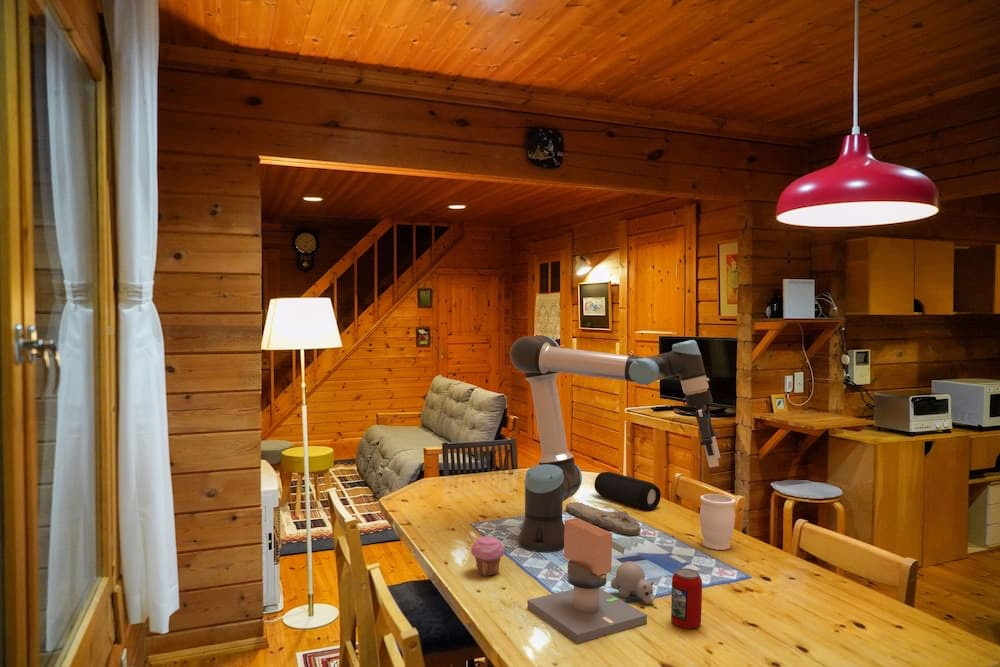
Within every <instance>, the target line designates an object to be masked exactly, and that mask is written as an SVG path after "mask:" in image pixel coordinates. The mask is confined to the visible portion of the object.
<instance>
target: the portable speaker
mask: <svg viewBox="0 0 1000 667" xmlns="http://www.w3.org/2000/svg"><path fill="white" fill-rule="evenodd" d="M594 491H596V493H597V494H598V495H599V496H600V497H602V498H606V499H609V500H612V501H615V502H618V503H622V504H625V505H629V506H631V507H635V508H639V509H642V510H652V509H656V508H657V507H658V506H659V504H660V502H661V497H662V495H661V490H660V488H659V487H658V486H657V485H656V484H654V483H653V482H650V481H646V480H642V479H639V478H634V477H631V476H627V475H622V474H619V473H616V472H611V471H604V472H600V473H598V475H597V476H596V477H595V480H594Z"/></svg>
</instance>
